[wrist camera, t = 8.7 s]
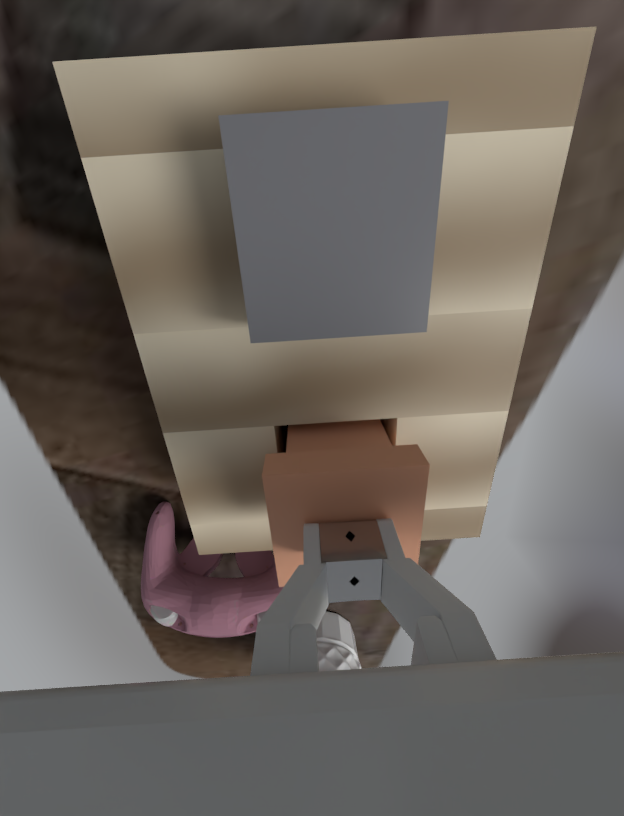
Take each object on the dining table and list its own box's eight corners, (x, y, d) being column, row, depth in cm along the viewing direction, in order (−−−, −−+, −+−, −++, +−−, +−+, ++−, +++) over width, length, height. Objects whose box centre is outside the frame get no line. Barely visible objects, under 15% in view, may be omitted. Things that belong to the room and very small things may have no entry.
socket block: (140, 129, 13) (52, 61, 8) (492, 106, 13) (596, 26, 8) (221, 489, 21) (199, 554, 16) (440, 474, 21) (479, 536, 16)
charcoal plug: (256, 178, 13) (218, 115, 7) (382, 170, 13) (448, 100, 7) (270, 308, 16) (250, 343, 9) (378, 301, 16) (426, 332, 10)
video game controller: (168, 519, 24) (135, 636, 19) (150, 495, 20) (104, 632, 16) (303, 526, 24) (299, 640, 20) (308, 503, 21) (305, 637, 16)
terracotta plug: (277, 391, 16) (261, 475, 10) (381, 385, 16) (429, 465, 10) (286, 476, 18) (278, 586, 12) (378, 470, 18) (416, 578, 12)
